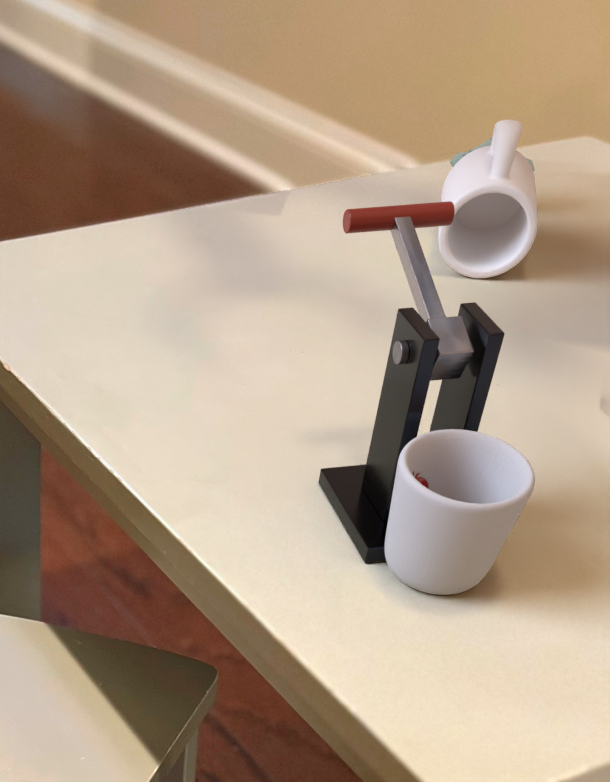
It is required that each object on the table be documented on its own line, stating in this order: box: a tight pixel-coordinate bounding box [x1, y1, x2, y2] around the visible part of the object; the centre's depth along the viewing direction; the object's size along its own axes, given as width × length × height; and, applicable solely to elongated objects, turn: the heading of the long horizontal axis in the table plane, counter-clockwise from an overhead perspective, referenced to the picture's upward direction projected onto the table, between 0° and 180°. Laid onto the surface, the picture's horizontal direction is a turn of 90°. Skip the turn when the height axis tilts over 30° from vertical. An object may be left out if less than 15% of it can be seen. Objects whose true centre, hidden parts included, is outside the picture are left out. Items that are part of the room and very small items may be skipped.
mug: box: [437, 118, 539, 279], centre depth 107 cm, size 8×10×12 cm
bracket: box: [317, 301, 505, 564], centre depth 76 cm, size 10×9×14 cm
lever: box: [342, 201, 474, 382], centre depth 74 cm, size 13×7×2 cm, turn 8°
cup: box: [385, 429, 536, 596], centre depth 74 cm, size 11×8×8 cm
